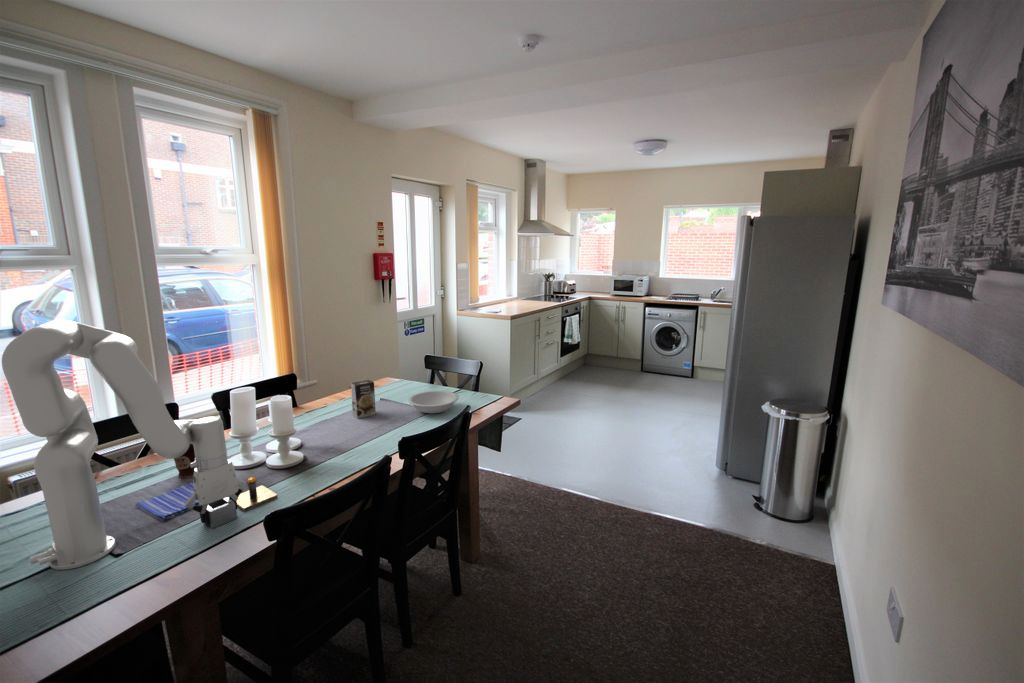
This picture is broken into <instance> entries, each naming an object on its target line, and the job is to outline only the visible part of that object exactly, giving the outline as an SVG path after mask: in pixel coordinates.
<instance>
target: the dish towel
mask: <svg viewBox="0 0 1024 683" xmlns="http://www.w3.org/2000/svg"><path fill="white" fill-rule="evenodd" d="M238 486H239V485H238ZM193 493H194V486H193V481H191V482H189V483H186V484H184V485H180V486H177V487H176V488H173V489H171V490H168V491H166V492H163V493H161V494H159V495H156V496H154V497H151V498H148V499H145V500H142V501H140V502H137V503H135V506H136V507H137V508H138V509H140V510H142V511H143V512H145V513H147V515H150V516H152V517H154V518H155V519H157V520H159V521H163V522H164V521H165V520H169V519H172V518H174V517H176V516H179V515H182V514H184V513H185V512H188V511H190V510H192V509H189V508H187V507H186V506H185V503H186V502H187V500H188V499H189V498H190V497H191V495H192V494H193ZM193 504H195V505H199V502H198V501H196V500H195V501H194V503H193Z"/></svg>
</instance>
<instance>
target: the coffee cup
mask: <svg viewBox="0 0 1024 683" xmlns="http://www.w3.org/2000/svg"><path fill="white" fill-rule="evenodd" d="M173 460H174V464H175V468H176V469H177V471H178V478H181V479H188V478H194V469H195V468H196V467H193V468H191V467H190V463H193V462H194V460H195V453H194V446H193V444H190V446H189V448H188V450H187V451H186V452H185V453H184V454H183V455H182V456H180V457H178V458H174V459H173Z"/></svg>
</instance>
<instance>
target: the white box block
mask: <svg viewBox="0 0 1024 683" xmlns="http://www.w3.org/2000/svg"><path fill="white" fill-rule="evenodd" d="M206 511H207V512H208V515H209V522H210V524H209V525H208V526H209V527H211V528H212V529H214V528H217V527H220V526H221V525H224V524H226V523H228V522H231V521H233V520H235V519H237V518H238V516H237V514H236V512H237V509H236V507H235V502H234V501H232V500H231V499H230V497H226V498H224V499H221V500H218V501H216V502H213V503H210V504H208V506H207V509H206Z"/></svg>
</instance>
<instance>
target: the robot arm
mask: <svg viewBox="0 0 1024 683" xmlns="http://www.w3.org/2000/svg"><path fill="white" fill-rule="evenodd" d="M138 351H139V348H138V344H137V343H136V341H135V340H133V339H132V338H131V337H129V336H127V335H125V334H122V333H119V332H115V331H111V330H106V329H103V328H99V327H96V326H92V325H89V324H85V323H80V322H77V321H74V320H73V321H72V320H69V319H68V320H67V319H54V320H51V321H48V322H44V323H42V324H39V325H37V326H34V327H32V328H30V329H28V330H25V331H24V332H22V333H21V334H19V335H18V336H16V337H15V338H14V339H13V340H11V341H10V342H9V344H7V346H6V347H5V349H4V351H3V353H2V355H1V367H2V371H3V372H2V373H3V374H4V378H5V379H6V381H7V384H8V386H9V389H10V391H11V395H12V398H13V401H14V404H15V405H16V408H17V410H18V413H19V416H20V418H21V419H20V420H21V421H22V424H23V426H24V428H25V429H26V431H27V432H28V433H30V434H31V435H33V436H36V437H38V438H39V437H40V438H45V439H46V440H47V442H46V443H45V444H44V445H43V446H42V447H41V448H40V449H39V451H38V452H37V454H36V456H35V459H34V464H33V468H34V473H35V476H36V478H37V480H38V483H39V485H40V487H41V491H42V494H43V498H44V503H45V506H46V511H47V515H48V519H49V520H48V521H49V524H50V530H51V533H52V539H53V543H51V547H50V548H49V549H46V551H44V552H41V553H37V554H35V555H32V556H29V562H30V565H34V564H37V563H39V566H42V565H45V564H47V563H49V567H50V568H51V569H53V570H56V571H57V570H58V571H59V570H60V571H63V570H64V571H65V570H72V569H77V568H81V567H83V566H86V565H89V564H92V563H94V562H95V561H98V560H100V559H101V558H104V557H105V556H106V555H108V554H110V553H111V551H113V549H115V547H116V545H117V544H116V542H117V541H116V539H115V538H114V536H111V535H106V534H107V533H106V532H107V531H106V527H105V522H104V518H103V513H102V512H103V511H102V508H101V502H100V496H99V492H98V488H97V487H98V486H97V483H96V479H95V475H94V473H93V470H92V468H91V459H92V457H93V455H94V453H95V452H96V450H97V448H98V445H99V444H98V443H99V439H98V435H97V432H96V429H95V426H94V424H93V421H92V418H91V415H90V412H89V409H88V406H87V405H86V402H85V400H84V399H83V397H82V396H81V395H80V394H78V393H77V392H75V391H73V390H70V389H68V388H64V386H63V383H62V380H61V377H60V374H58V371H57V370H56V368H55V362H56V361H57V360H59V359H61V358H64V357H65V356H67V355H71V356H75V357H78V358H84V359H87V360H89V361H90V363H91V365H92V366H93V367H94V369H95V371H96V372H97V373H98V374H99V375H100V377H101V378H102V379H103V380H104V382H106V384H107V385H108V386H109V387H110V389H111V390H112V391H113V393H114V394H115V395H116V397H117V398H118V399H119V400H120V402H121V403H122V405H123V406H124V408H125V411H126V413H127V414H128V415H129V418H130V420H131V421H132V424H133V425H134V427H135V429H136V430H137V432H138V433H139V434H140V436H141V437H142V439H143V440H144V441H145V442H146V444H147V445H148V446H149V447H150V449H151V450H152V451H153V452H154V453H155V454H157V456H159V457H161V458H163V459H167V460H172V459H173V460H174V458H178V457H180V456H182V455H183V454H184V453H185V452H186V451H187V450H188V448H189V446H190V444H193V446H194V453H195V460H194V462H193V463H190V467H191V468H193V467H196V468H195V469H194V477H193V481H192V482H193V486H194V493H193V494H192V495H191V497H190V498H189V499H188V500H187V502H186V503H185V506H186V507H187V508H189V509H191V510H192V511H195V512H197V513H199V518H200V521H201V523H202V524H204V525H205V526H207V527H208V526H209V524H210V522H209V515H208V512H207V511H206V509H207V506H208V504H210V503H213V502H216V501H218V500H221V499H224V498H226V497H228V498H230V499H231V500H232V501H234V502H235V507H236V510H238V508H239V507H237V500H238V497H239V495H240V494H241V493H243V490H244V489H245V487H246V486H247V482H245V481H243V480H240V479H238V477H237V473H236V469H235V467H234V463H233V461H232V460H231V459H229V458H228V452H227V450H228V449H227V444H226V437H225V428H224V422H223V420H222V418H220V417H219V416H204V417H200V418H198V419H175V420H174V419H173V417H172V416H171V414H170V412H169V410H168V409H167V406H166V403H165V400H164V395H163V390H162V388H161V385H160V383H158V381H157V380H156V379H155V378H154V376H153V375H152V374H151V372H150V371H149V370H148V369H147V366H145V364H144V363H143V362H142V360H141V359H140V357H139V356H138ZM238 485H239V486H238ZM195 500H196V501H198V502H199V505H195V504H193V503H194V501H195ZM236 514H237V511H236Z"/></svg>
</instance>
